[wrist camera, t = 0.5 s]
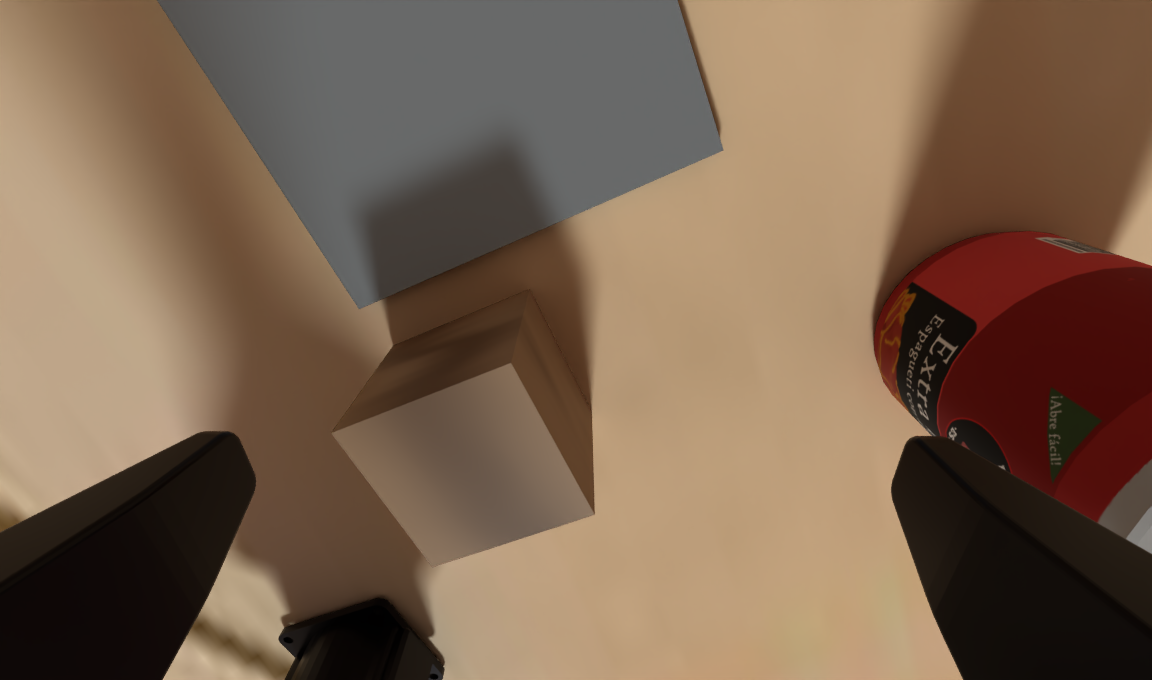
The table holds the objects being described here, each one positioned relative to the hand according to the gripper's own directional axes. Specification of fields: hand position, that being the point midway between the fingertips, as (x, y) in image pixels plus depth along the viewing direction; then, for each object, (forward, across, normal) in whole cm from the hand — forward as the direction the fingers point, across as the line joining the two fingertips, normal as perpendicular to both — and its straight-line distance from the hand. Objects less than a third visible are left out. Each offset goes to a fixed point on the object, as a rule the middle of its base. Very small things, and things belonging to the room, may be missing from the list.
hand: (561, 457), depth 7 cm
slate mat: (+14, +5, -5) cm, 15 cm away
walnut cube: (+13, +4, +7) cm, 15 cm away
